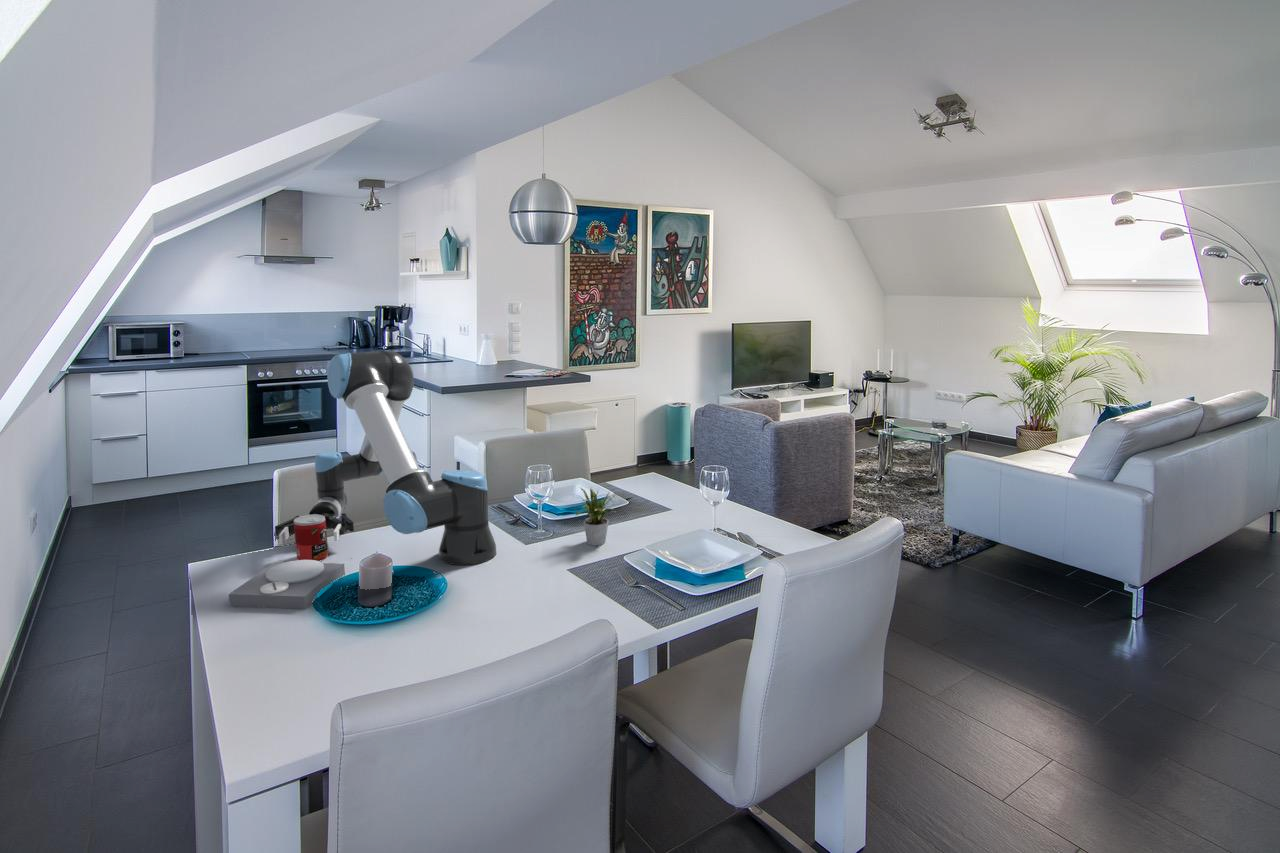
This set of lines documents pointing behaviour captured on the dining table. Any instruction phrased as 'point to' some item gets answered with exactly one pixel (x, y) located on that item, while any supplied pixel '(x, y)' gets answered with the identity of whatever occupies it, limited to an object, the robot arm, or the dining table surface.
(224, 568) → the dining table surface
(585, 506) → the house plant
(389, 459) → the robot arm
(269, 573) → the kitchen scale
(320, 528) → the canned food
